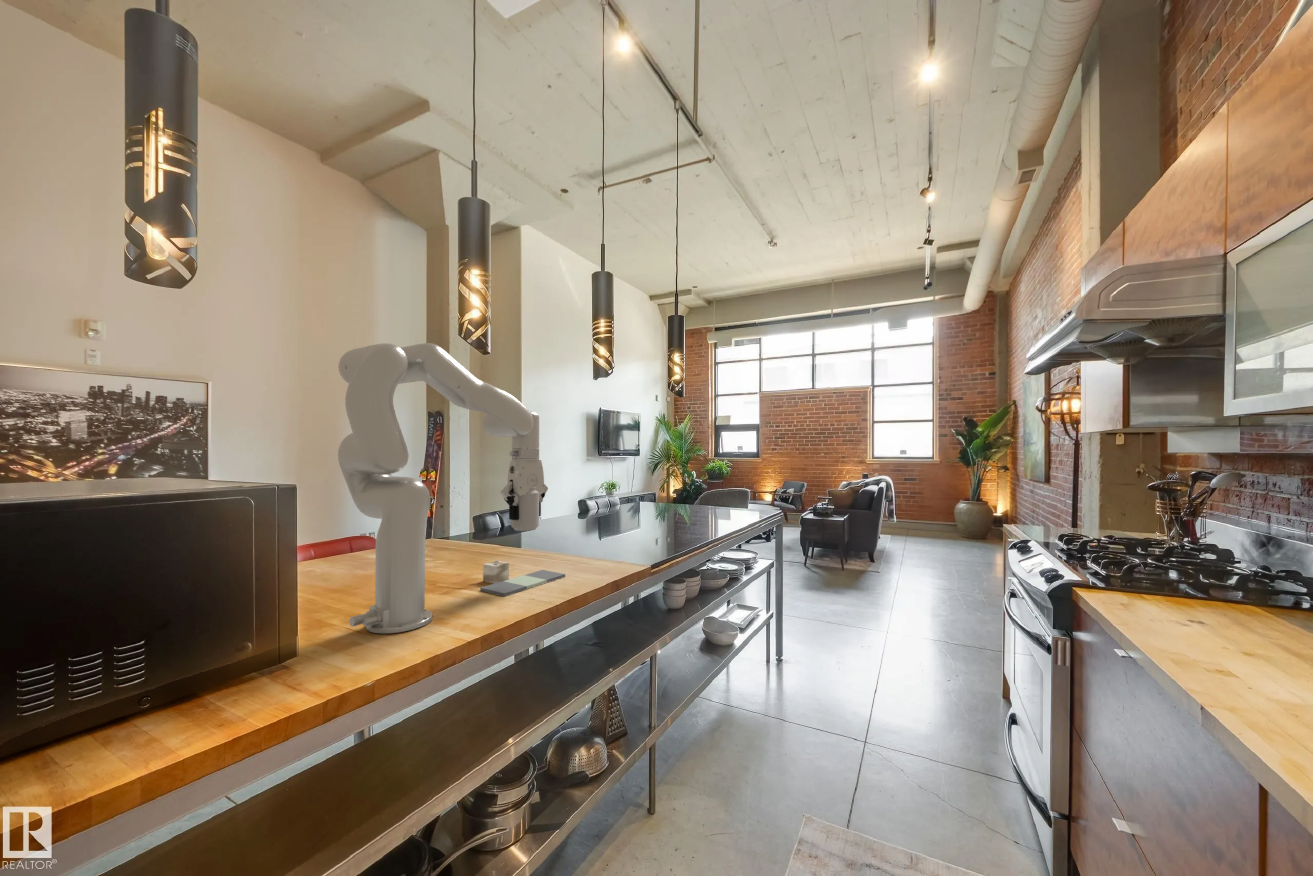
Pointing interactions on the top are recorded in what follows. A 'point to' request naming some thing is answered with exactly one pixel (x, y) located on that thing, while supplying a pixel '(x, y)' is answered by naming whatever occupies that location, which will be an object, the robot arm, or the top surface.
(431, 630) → the top surface
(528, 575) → the board
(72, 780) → the top surface
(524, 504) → the can
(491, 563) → the die
